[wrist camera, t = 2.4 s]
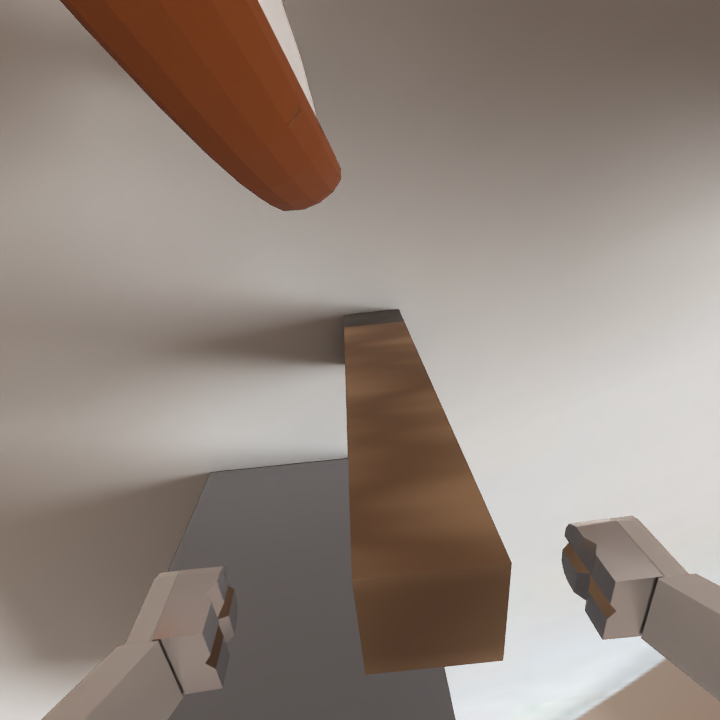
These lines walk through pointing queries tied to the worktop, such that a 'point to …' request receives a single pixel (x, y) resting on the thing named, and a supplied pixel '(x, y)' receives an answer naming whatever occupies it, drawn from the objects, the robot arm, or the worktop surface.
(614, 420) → the worktop surface
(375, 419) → the long brown rectangular block
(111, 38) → the magnifying glass
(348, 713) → the grey tissue box
